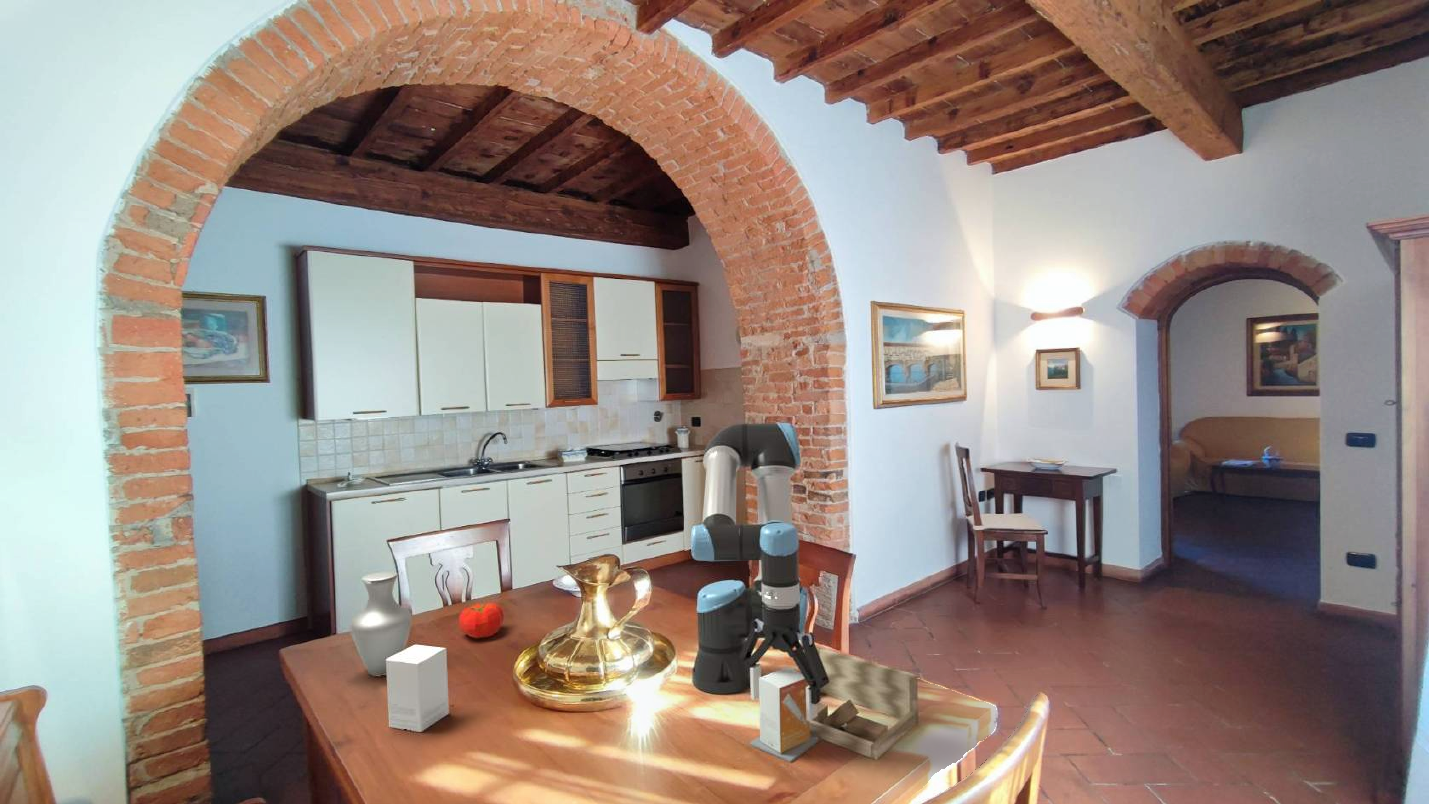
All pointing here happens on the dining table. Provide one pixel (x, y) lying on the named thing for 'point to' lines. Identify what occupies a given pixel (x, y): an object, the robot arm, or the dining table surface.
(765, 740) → the small box
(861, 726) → the offcut
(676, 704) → the dining table surface
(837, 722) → the offcut
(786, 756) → the mat
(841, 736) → the tray
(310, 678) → the dining table surface
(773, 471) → the robot arm
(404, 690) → the supplement box
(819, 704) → the offcut
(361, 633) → the vase
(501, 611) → the tomato
